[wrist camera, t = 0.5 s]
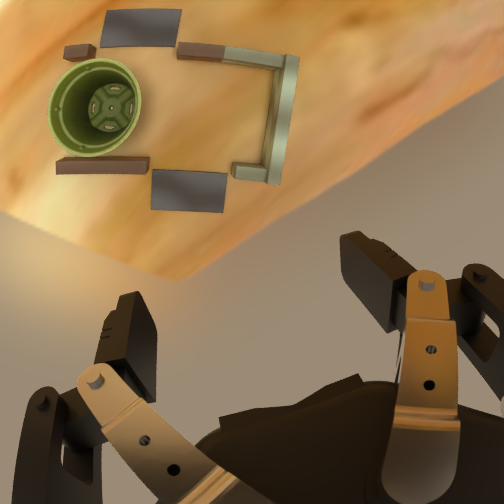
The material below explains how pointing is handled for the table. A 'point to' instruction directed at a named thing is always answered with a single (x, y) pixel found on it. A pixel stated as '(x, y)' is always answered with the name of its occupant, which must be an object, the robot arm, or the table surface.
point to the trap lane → (164, 35)
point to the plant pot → (80, 107)
